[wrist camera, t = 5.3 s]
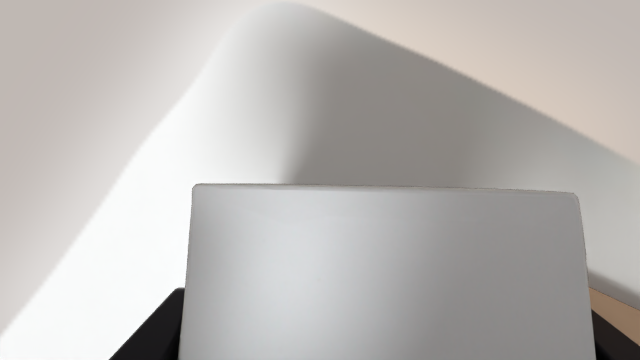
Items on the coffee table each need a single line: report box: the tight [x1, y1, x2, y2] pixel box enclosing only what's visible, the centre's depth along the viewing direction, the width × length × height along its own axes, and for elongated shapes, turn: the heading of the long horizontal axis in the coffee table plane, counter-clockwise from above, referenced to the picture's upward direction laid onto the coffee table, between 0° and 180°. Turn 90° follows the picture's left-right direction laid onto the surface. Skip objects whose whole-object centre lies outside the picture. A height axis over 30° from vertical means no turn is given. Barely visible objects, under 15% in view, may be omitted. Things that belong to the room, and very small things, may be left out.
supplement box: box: [178, 183, 596, 360], centre depth 13 cm, size 7×7×13 cm
